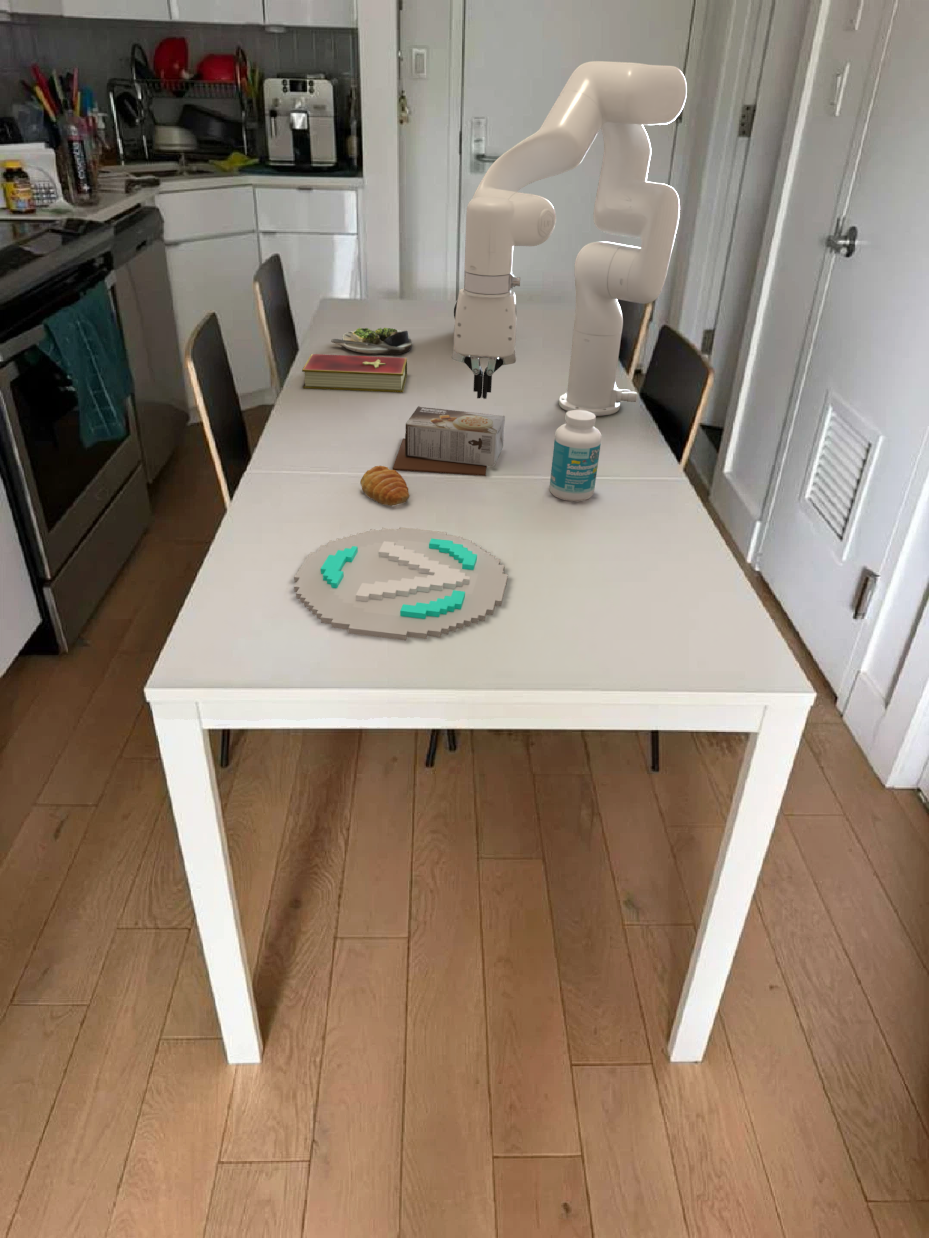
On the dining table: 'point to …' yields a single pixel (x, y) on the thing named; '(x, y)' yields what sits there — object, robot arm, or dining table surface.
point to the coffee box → (454, 436)
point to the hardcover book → (355, 373)
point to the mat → (434, 465)
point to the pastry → (385, 486)
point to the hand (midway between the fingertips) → (482, 395)
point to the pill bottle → (575, 457)
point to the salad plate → (376, 341)
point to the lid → (401, 583)
